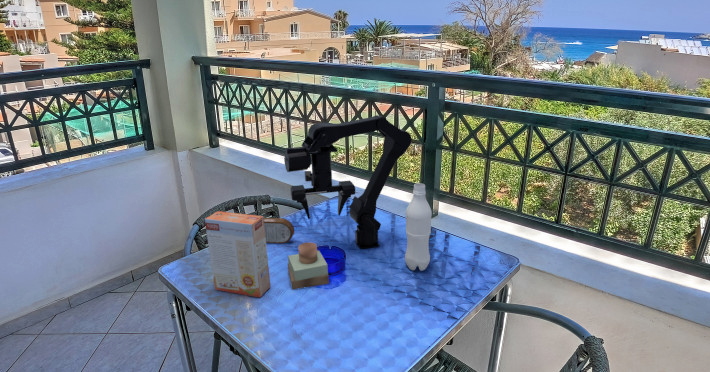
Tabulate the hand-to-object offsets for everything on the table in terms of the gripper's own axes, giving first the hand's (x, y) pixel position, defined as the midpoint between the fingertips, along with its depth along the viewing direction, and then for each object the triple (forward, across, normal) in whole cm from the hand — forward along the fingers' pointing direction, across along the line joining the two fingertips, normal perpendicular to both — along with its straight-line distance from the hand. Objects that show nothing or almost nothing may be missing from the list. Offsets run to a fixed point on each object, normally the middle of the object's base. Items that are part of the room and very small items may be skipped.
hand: (324, 216), depth 127 cm
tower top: (+10, +7, +13) cm, 18 cm away
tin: (+12, +16, -12) cm, 23 cm away
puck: (+7, +7, +13) cm, 16 cm away
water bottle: (+12, -24, +16) cm, 31 cm away
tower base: (+13, +7, +13) cm, 20 cm away
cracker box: (+12, +25, +14) cm, 31 cm away
